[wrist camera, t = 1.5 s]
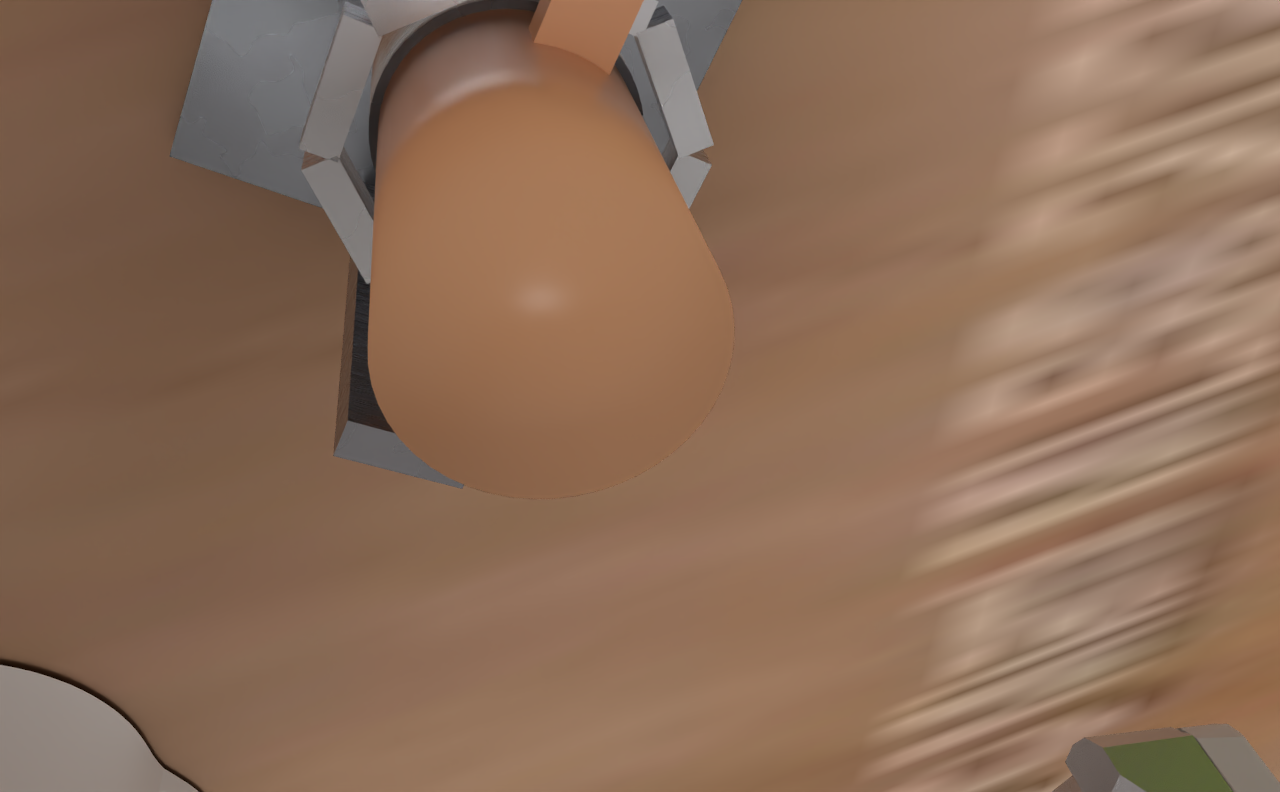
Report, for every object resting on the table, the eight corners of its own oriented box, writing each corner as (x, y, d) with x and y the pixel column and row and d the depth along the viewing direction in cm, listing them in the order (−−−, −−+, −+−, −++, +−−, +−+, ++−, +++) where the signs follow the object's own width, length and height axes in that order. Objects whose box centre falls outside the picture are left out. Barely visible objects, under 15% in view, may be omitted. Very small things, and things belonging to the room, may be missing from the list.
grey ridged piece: (588, 286, 39) (665, 550, 28) (175, 143, 34) (60, 398, 23) (798, -140, 33) (1013, -21, 21) (324, -398, 27) (269, -426, 16)
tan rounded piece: (532, 372, 28) (579, 635, 20) (307, 304, 26) (270, 570, 18) (734, -44, 23) (891, 104, 16) (479, -170, 21) (521, -67, 14)
